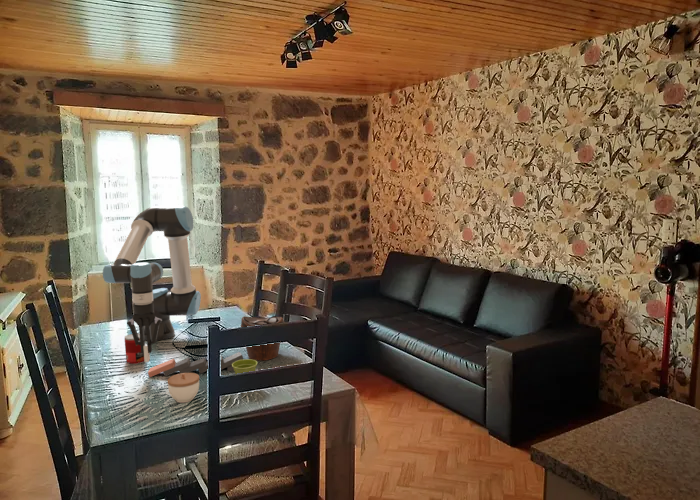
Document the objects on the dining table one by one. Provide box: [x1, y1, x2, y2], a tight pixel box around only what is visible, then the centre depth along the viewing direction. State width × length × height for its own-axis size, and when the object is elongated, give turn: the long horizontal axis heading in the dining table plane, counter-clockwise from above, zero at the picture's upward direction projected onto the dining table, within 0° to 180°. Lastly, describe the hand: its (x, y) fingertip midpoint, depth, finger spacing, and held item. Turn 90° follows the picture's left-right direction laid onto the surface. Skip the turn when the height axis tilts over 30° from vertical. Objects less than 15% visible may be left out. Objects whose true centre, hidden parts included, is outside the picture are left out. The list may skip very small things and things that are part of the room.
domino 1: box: [147, 358, 177, 378], centre depth 211 cm, size 5×2×10 cm
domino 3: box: [178, 357, 207, 374], centre depth 212 cm, size 5×2×10 cm
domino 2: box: [162, 357, 192, 377], centre depth 211 cm, size 5×2×10 cm
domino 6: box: [227, 365, 235, 372], centre depth 217 cm, size 5×2×10 cm
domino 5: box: [220, 351, 244, 371], centre depth 217 cm, size 5×2×10 cm
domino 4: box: [197, 355, 224, 375], centre depth 214 cm, size 5×2×10 cm
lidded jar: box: [167, 372, 200, 403], centre depth 187 cm, size 11×11×9 cm
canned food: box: [124, 332, 145, 365], centre depth 225 cm, size 8×8×11 cm
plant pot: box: [232, 358, 258, 374], centre depth 198 cm, size 9×9×9 cm
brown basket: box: [240, 315, 285, 361], centre depth 230 cm, size 18×20×18 cm
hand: (147, 360), depth 209 cm, fingers closed
